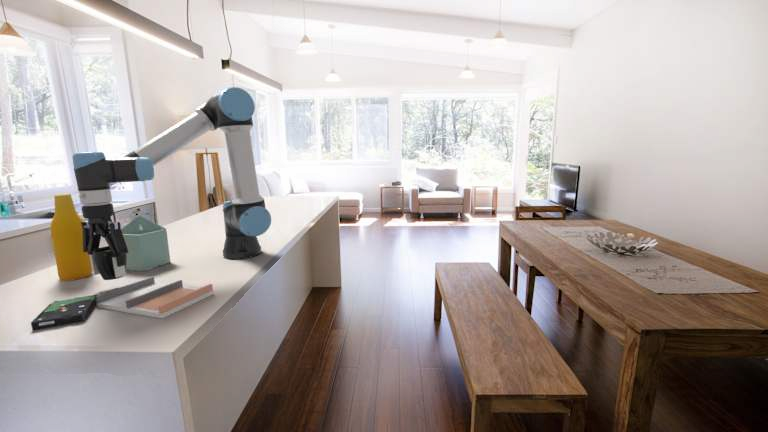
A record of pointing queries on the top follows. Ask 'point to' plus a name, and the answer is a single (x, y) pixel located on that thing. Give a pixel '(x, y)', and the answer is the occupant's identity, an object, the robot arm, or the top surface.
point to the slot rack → (152, 298)
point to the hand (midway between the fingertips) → (109, 274)
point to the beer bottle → (69, 240)
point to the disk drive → (65, 312)
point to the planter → (145, 244)
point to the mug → (106, 262)
